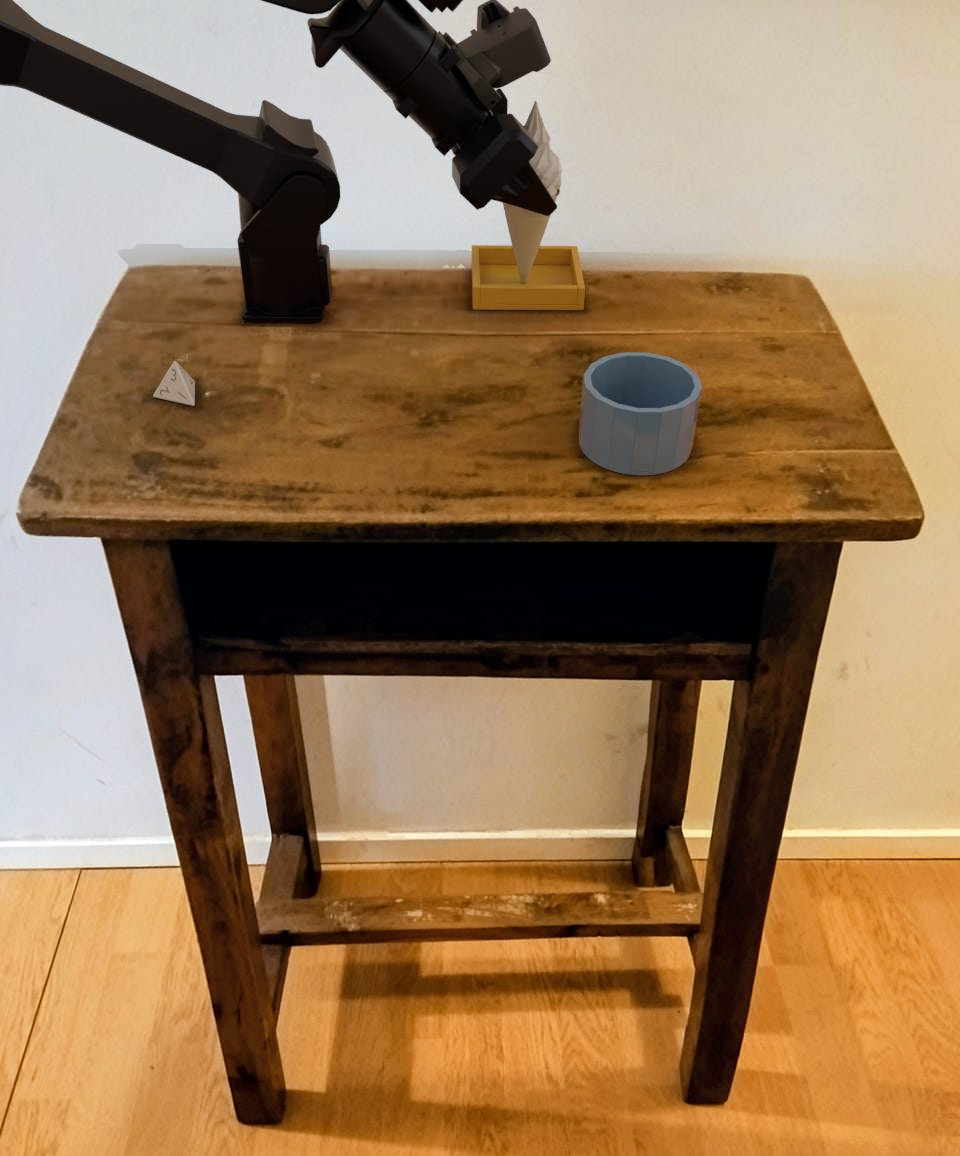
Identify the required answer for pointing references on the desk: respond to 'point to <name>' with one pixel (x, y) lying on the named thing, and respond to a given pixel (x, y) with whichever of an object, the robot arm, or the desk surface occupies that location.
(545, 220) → the ice cream cone
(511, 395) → the desk surface
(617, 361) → the cup
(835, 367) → the desk surface
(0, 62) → the robot arm
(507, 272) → the tray
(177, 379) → the tetrahedral die
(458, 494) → the desk surface
